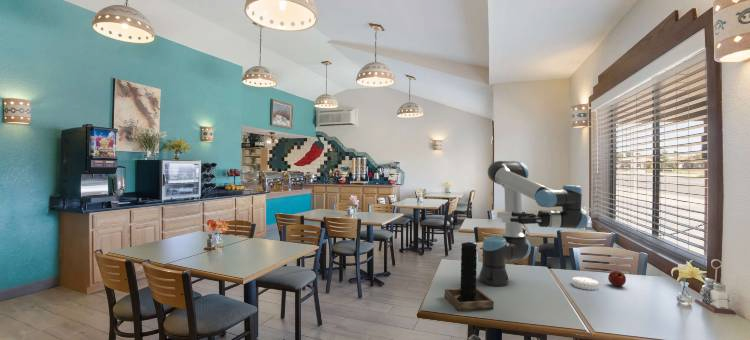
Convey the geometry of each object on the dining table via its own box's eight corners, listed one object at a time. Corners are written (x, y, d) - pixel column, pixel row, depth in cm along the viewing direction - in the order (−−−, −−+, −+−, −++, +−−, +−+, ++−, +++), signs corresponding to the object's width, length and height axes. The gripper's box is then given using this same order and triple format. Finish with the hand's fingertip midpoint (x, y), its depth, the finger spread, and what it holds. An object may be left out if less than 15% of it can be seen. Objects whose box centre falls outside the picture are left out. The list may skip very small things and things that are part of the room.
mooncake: (566, 284, 182) (566, 277, 182) (581, 281, 187) (581, 274, 187) (588, 291, 171) (589, 284, 171) (604, 288, 176) (604, 281, 176)
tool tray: (476, 295, 164) (476, 287, 164) (493, 309, 148) (493, 301, 148) (444, 296, 161) (444, 289, 161) (458, 311, 146) (458, 303, 146)
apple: (610, 287, 178) (610, 271, 178) (606, 282, 185) (606, 267, 185) (627, 289, 175) (627, 273, 175) (622, 284, 182) (623, 269, 182)
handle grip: (479, 306, 148) (480, 298, 158) (480, 245, 148) (481, 240, 157) (455, 303, 152) (457, 295, 161) (456, 243, 151) (458, 238, 161)
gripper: (540, 207, 169) (495, 205, 173) (557, 214, 145) (504, 212, 149) (540, 222, 170) (495, 220, 173) (557, 232, 145) (504, 229, 149)
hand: (499, 216), depth 161 cm, fingers open, 13 cm apart
